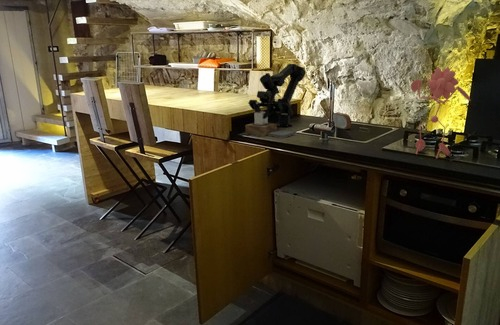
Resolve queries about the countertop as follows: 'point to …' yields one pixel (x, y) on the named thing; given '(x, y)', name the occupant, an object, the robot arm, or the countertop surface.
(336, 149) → the countertop surface
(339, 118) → the tin
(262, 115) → the steel peg
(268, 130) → the brown square tray
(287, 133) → the rubber pad
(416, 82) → the figurine
